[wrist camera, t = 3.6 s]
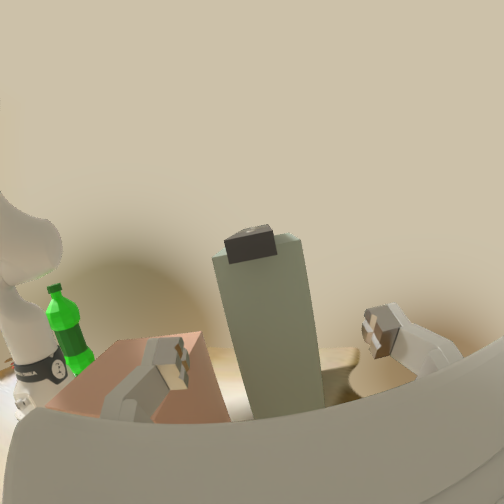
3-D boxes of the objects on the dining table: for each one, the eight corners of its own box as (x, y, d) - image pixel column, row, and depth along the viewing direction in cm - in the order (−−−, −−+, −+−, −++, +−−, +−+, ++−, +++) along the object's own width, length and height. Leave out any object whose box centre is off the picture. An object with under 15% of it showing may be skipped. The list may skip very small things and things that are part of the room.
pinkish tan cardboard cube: (129, 513, 18) (44, 405, 16) (162, 438, 33) (117, 340, 31) (225, 526, 17) (154, 419, 15) (237, 437, 33) (201, 331, 31)
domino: (229, 264, 22) (223, 239, 22) (245, 241, 44) (243, 228, 44) (277, 254, 22) (272, 229, 22) (270, 236, 44) (267, 223, 44)
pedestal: (257, 431, 33) (211, 257, 31) (259, 381, 47) (227, 245, 44) (326, 419, 33) (300, 239, 30) (312, 371, 47) (288, 232, 44)
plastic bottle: (85, 361, 66) (58, 282, 63) (106, 365, 63) (76, 278, 60) (63, 376, 56) (31, 291, 53) (82, 382, 53) (47, 288, 50)
